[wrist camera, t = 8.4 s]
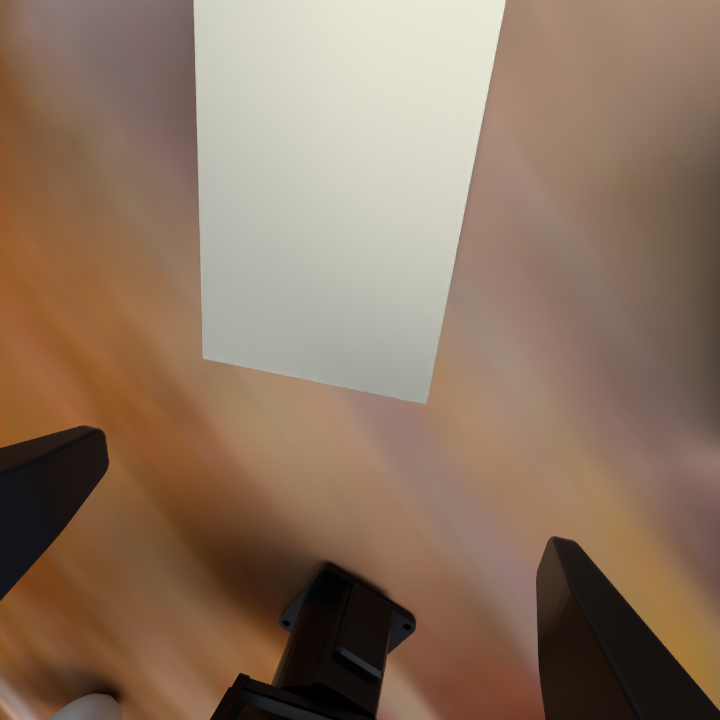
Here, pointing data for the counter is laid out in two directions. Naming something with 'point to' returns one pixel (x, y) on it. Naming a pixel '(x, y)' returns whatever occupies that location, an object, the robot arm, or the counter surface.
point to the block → (336, 181)
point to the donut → (90, 709)
